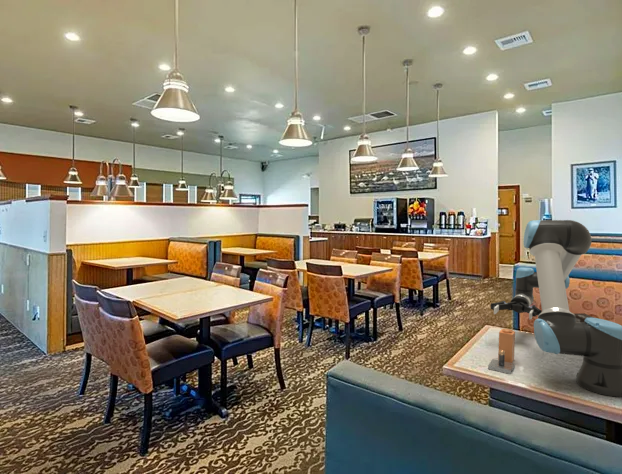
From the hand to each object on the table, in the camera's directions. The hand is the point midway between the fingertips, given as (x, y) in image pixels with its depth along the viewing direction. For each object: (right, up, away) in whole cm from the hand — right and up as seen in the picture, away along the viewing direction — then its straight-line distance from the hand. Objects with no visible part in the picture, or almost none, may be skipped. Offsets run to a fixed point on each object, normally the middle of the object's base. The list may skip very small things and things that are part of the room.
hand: (511, 313), depth 162 cm
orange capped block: (-6, -18, -7) cm, 20 cm away
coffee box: (+32, -17, +2) cm, 36 cm away
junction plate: (-12, -18, -14) cm, 26 cm away
